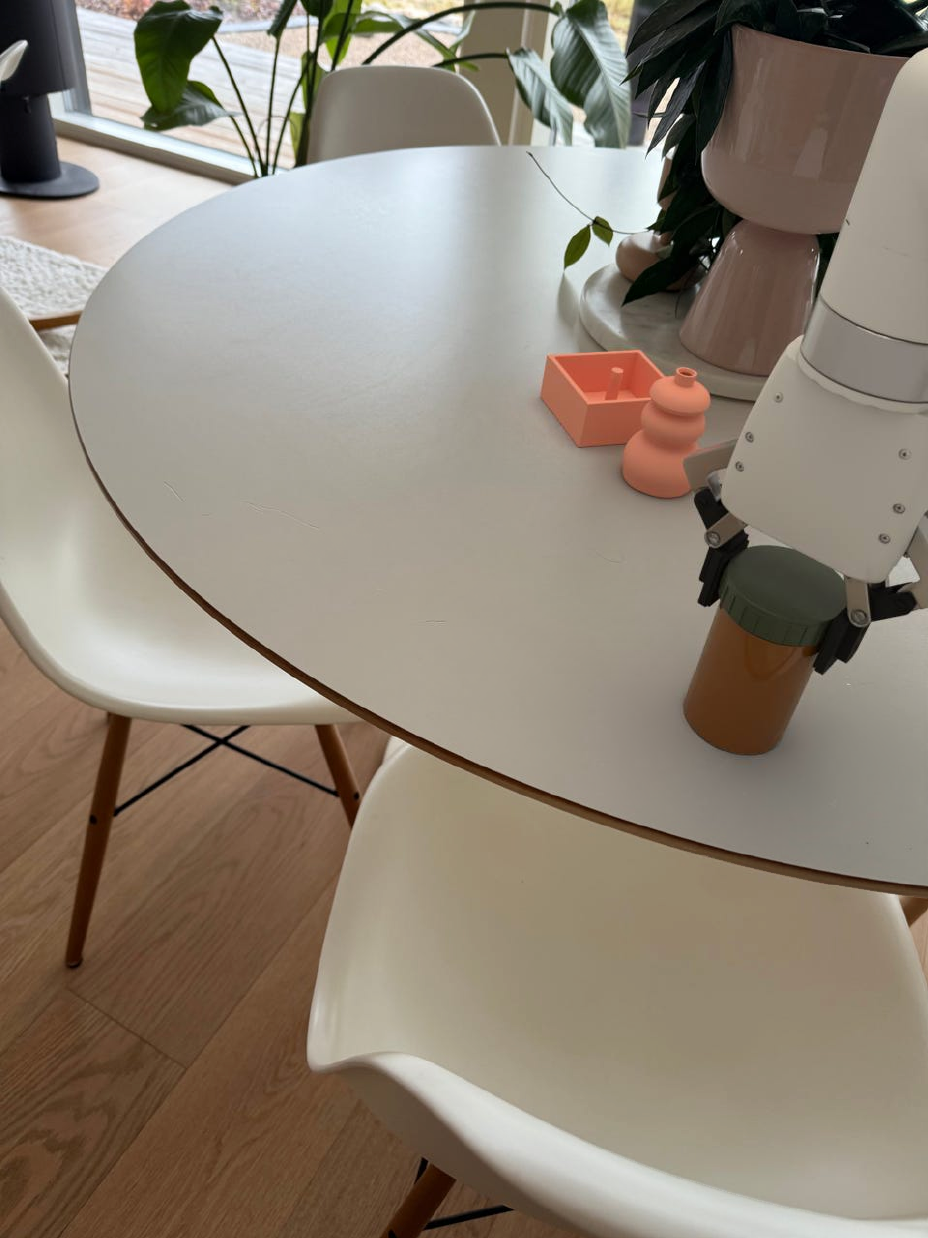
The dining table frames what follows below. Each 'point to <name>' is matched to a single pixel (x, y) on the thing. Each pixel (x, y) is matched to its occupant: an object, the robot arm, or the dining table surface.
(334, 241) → the dining table surface
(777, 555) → the lid
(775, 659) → the jar
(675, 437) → the pottery
